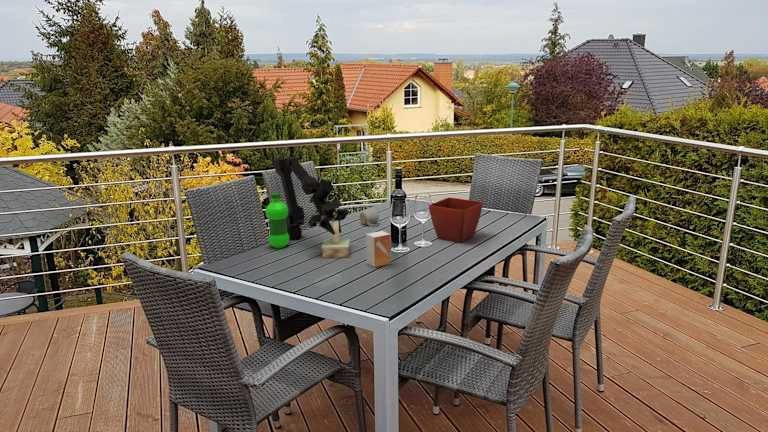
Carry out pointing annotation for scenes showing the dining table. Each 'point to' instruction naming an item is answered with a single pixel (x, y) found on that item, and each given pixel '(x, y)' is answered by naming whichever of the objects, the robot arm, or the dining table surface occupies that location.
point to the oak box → (335, 253)
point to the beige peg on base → (336, 239)
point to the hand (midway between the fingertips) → (337, 233)
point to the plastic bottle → (277, 222)
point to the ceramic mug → (369, 217)
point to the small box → (378, 248)
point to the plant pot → (455, 218)
